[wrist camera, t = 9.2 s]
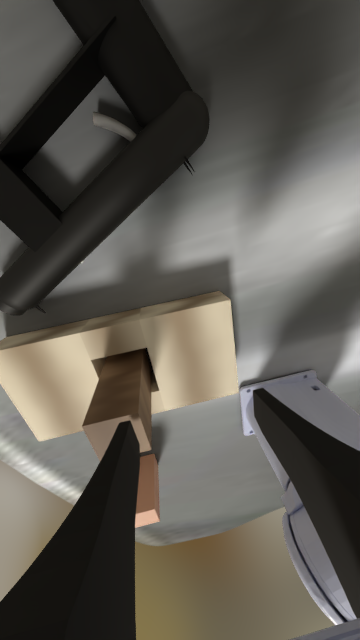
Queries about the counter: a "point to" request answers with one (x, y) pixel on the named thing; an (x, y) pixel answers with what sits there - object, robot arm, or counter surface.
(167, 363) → the socket block
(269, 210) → the counter surface
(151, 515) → the salmon brown flat block
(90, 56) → the door handle
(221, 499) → the counter surface
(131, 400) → the walnut peg
